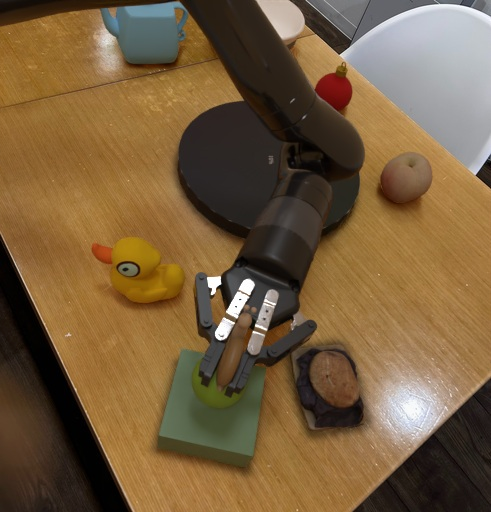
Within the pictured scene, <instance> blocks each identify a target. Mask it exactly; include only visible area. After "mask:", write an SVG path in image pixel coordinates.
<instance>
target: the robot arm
mask: <svg viewBox="0 0 491 512" xmlns="http://www.w3.org/2000/svg"><path fill="white" fill-rule="evenodd" d="M170 2H179V3H181V4H182V5H183V6H184V8H185V9H186V10H187V11H188V15H190V17H191V18H192V20H193V21H194V22H195V24H196V25H197V26H198V28H199V29H200V31H201V32H202V34H203V35H204V37H205V38H206V40H207V42H208V43H209V45H210V46H211V48H212V50H213V51H214V53H215V55H216V57H217V59H218V61H219V62H220V64H221V65H222V67H223V69H224V70H225V72H226V74H227V76H228V77H229V79H230V81H231V82H232V84H233V85H234V87H235V89H236V91H237V92H238V94H239V95H240V96H241V98H242V101H245V102H246V104H247V105H248V106H249V108H250V109H251V110H252V112H253V113H254V114H255V116H256V117H257V118H258V119H259V121H260V122H261V123H262V125H263V126H264V127H265V128H266V130H267V131H268V132H269V133H270V134H271V135H272V136H273V137H274V138H275V139H277V140H279V141H281V142H284V143H283V145H282V147H281V149H280V154H279V167H278V174H277V181H276V186H275V188H274V190H273V192H272V194H271V196H270V198H269V200H268V202H267V204H266V206H265V207H264V209H263V210H262V211H261V212H260V214H259V215H258V217H257V219H256V220H255V222H254V224H253V226H252V228H251V230H250V232H249V234H248V236H247V238H246V240H245V239H244V242H243V244H242V246H241V247H240V250H239V251H238V253H237V255H236V257H235V259H234V261H233V263H232V265H231V266H230V268H228V269H226V270H225V271H223V273H221V275H220V276H208V274H207V273H206V272H203V271H200V272H197V273H196V274H195V276H194V282H193V300H194V301H193V302H194V309H195V310H194V311H195V318H196V319H195V320H196V328H197V335H198V336H199V337H200V338H202V339H205V340H206V341H207V342H208V344H209V345H208V347H207V349H206V351H205V352H204V353H205V355H204V357H203V359H202V361H201V363H200V366H199V371H198V376H199V377H201V378H202V380H201V385H203V386H206V387H208V386H209V383H210V381H211V379H212V377H213V375H214V373H215V370H216V368H217V366H218V364H219V361H220V358H221V355H222V353H223V351H224V349H225V347H226V345H227V343H228V341H229V339H230V336H231V333H232V331H233V328H234V327H235V325H236V324H237V322H238V317H239V316H240V315H241V314H242V313H243V312H244V308H243V307H244V305H249V307H250V308H249V310H248V311H246V310H245V313H249V314H250V315H251V313H252V312H251V308H252V307H255V308H256V309H257V311H256V313H252V315H251V317H252V323H251V325H250V326H249V327H248V329H250V330H251V334H250V338H249V340H248V342H247V346H246V348H245V349H244V351H243V353H242V356H241V359H240V362H239V364H238V367H237V369H236V372H235V374H234V376H233V378H232V380H231V381H230V383H229V384H228V386H227V389H226V391H225V394H224V395H225V396H228V397H230V398H231V397H232V395H233V392H234V393H237V394H240V393H241V392H242V391H243V389H244V387H245V384H246V382H247V380H248V377H249V375H250V372H251V370H252V367H253V366H254V365H264V367H266V368H272V367H274V366H275V365H277V364H278V363H280V362H281V361H282V360H283V359H285V358H286V357H288V356H290V355H291V353H292V352H293V351H295V350H296V349H297V348H301V347H302V346H303V345H305V344H306V343H307V342H309V341H310V340H311V339H312V336H313V335H314V333H315V332H316V330H317V328H318V323H317V322H316V321H315V320H314V319H307V318H306V317H305V316H304V314H303V313H302V312H301V311H300V309H301V302H300V294H301V292H302V289H303V286H304V284H305V281H306V279H307V276H308V274H309V271H310V269H311V267H312V266H311V265H312V263H313V261H314V259H315V255H316V253H317V250H318V248H319V245H320V240H321V238H320V236H321V232H322V229H323V226H324V224H325V221H326V219H327V216H328V213H329V211H330V208H331V205H332V201H333V191H332V187H331V185H330V183H329V182H336V181H342V180H347V179H350V178H352V177H354V176H355V175H357V173H358V172H359V173H360V171H361V170H362V169H363V166H364V163H365V158H366V149H365V144H364V141H363V139H362V137H361V135H360V133H359V131H358V130H357V129H356V127H355V126H354V124H353V123H352V122H351V121H350V120H348V119H347V118H346V117H345V116H344V115H343V114H342V113H340V111H337V110H335V109H334V108H333V107H332V106H331V105H329V104H328V103H327V102H326V101H325V100H323V99H322V98H321V97H319V96H318V94H317V93H316V91H315V87H313V84H312V83H311V81H310V79H309V77H308V76H307V75H306V73H305V72H304V70H303V68H302V67H301V65H300V64H299V62H298V61H297V59H296V57H295V56H294V54H293V52H291V49H290V50H289V49H288V47H287V46H286V44H285V43H284V41H283V40H282V38H281V37H280V36H279V34H278V33H277V31H276V30H275V28H274V27H273V25H272V24H271V22H270V21H269V19H268V18H267V16H266V15H265V13H264V12H263V10H262V9H261V7H260V6H259V4H258V3H257V1H256V0H0V28H2V27H6V26H7V27H8V26H12V25H16V24H21V23H26V22H29V21H34V20H38V19H42V18H46V17H50V16H55V15H60V14H67V13H73V12H80V11H89V10H91V11H92V10H100V9H103V8H108V9H114V8H115V9H116V8H117V7H127V6H142V5H153V4H163V3H170ZM218 290H219V291H220V295H221V298H222V299H221V300H222V303H223V307H224V311H225V313H224V316H223V317H222V319H221V321H220V323H219V324H218V325H217V324H216V323H215V321H214V318H213V310H212V309H213V308H212V301H211V300H213V299H214V298H215V296H216V292H217V291H218ZM289 321H291V324H290V325H289V327H288V329H287V333H286V334H285V335H284V336H282V337H280V338H279V339H277V340H276V341H274V343H271V344H270V345H263V343H264V341H265V339H266V338H265V337H266V335H267V332H270V331H272V330H274V329H276V328H277V327H279V326H281V325H283V324H286V323H287V322H289Z"/></svg>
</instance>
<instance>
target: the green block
mask: <svg viewBox="0 0 491 512" xmlns="http://www.w3.org/2000/svg"><path fill="white" fill-rule="evenodd" d="M179 352H180V353H179V356H178V360H177V364H176V367H175V370H174V371H175V372H174V375H173V379H172V382H171V387H170V390H169V394H168V397H167V402H166V406H165V409H164V412H163V416H162V420H161V424H160V428H159V431H158V435H157V445H156V448H157V450H158V449H159V450H163V451H168V452H172V453H176V454H181V455H185V456H190V457H194V458H199V459H203V460H209V461H212V462H217V463H221V464H227V465H231V466H234V467H235V466H236V467H239V468H244V469H246V467H247V466H248V464H249V463H250V462H251V460H253V459H252V458H254V455H255V446H256V439H257V435H258V427H259V421H260V413H261V407H262V401H263V393H264V387H265V381H266V373H267V367H266V366H262V365H258V364H256V365H254V366H253V367H252V370H251V372H250V375H249V377H248V380H247V385H246V389H245V392H244V394H243V395H242V397H241V398H240V399H239V400H238V401H237V402H236V403H235V404H233V405H231V406H229V407H226V408H212V407H209V406H207V405H205V404H204V403H202V402H201V401H200V400H199V399H198V398H197V396H196V395H195V393H194V391H193V387H192V373H193V370H194V367H195V365H196V364H197V362H198V361H199V360H200V359H201V358H202V357H204V355H205V353H206V352H202V351H201V352H200V351H197V350H191V349H188V348H183V347H181V349H180V351H179Z"/></svg>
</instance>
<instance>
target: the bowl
mask: <svg viewBox="0 0 491 512" xmlns="http://www.w3.org/2000/svg"><path fill="white" fill-rule="evenodd" d="M256 1H257V3H258V4H259V6H260V7H261V9H262V10H263V12H264V13H265V15H266V16H267V18H268V19H269V21H270V22H271V24H272V25H273V27H274V28H275V30H276V31H277V33H278V34H279V36H280V37H281V38H282V40H283V41H284V43H285V44H286V46H287V47H288V49H289V50H290V51H291V50H292V49H293V47H294V46H295V44H296V42H297V41H298V38H299V36H300V34H301V33H302V32H303V31H304V29H305V26H306V19H305V16H304V14H303V13H302V11H301V9H300V8H299V7H298V6H297V5H296V4H295V3H294V2H292V1H290V0H256Z"/></svg>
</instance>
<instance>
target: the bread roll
mask: <svg viewBox="0 0 491 512" xmlns="http://www.w3.org/2000/svg"><path fill="white" fill-rule="evenodd" d="M290 363H291V367H292V368H291V369H292V375H293V381H294V384H295V389H296V393H297V396H298V400H299V402H300V403H299V406H300V408H301V410H302V414H303V416H304V420H305V423H306V425H307V427H308V430H309V431H311V432H316V433H318V432H324V431H334V430H336V429H340V428H341V429H347V428H350V427H351V428H352V427H356V426H361V425H364V424H365V423H366V415H365V411H364V408H365V405H364V402H363V398H362V397H361V393H360V392H361V391H360V389H359V381H358V372H357V366H356V363H355V361H354V359H352V357H351V356H350V355H349V354H348V352H347V351H346V349H345V346H343V345H342V344H340V343H336V344H335V343H334V344H326V345H316V346H314V345H313V346H306V347H299V348H297V349H296V350H295V351H293V352H292V353H290Z"/></svg>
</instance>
